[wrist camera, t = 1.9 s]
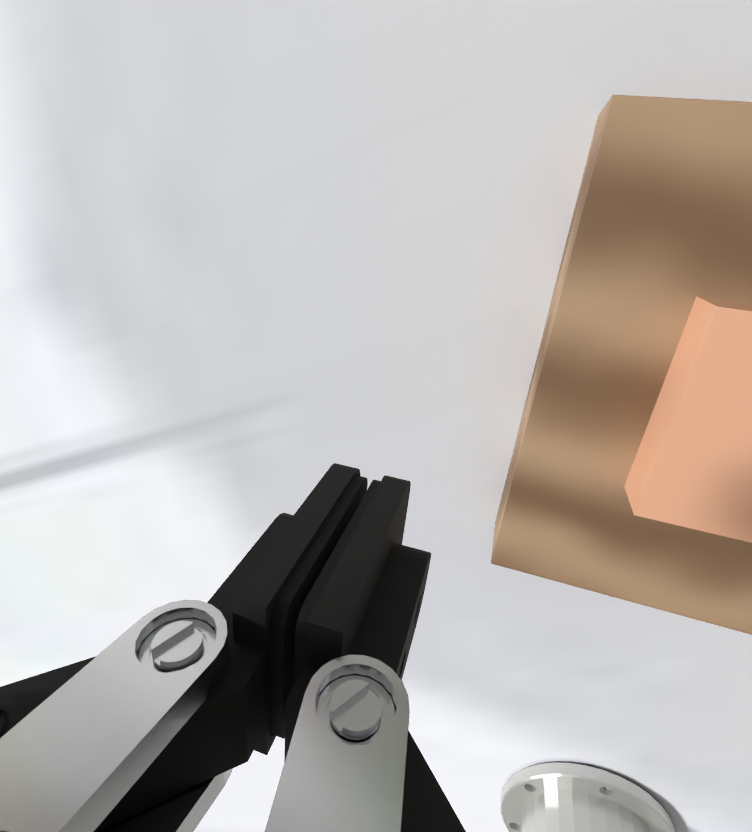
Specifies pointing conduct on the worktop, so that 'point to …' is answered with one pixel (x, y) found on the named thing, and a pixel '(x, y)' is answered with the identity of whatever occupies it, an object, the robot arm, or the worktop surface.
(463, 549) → the worktop surface
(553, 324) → the board
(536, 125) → the worktop surface
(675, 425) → the terracotta tile
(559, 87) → the worktop surface
